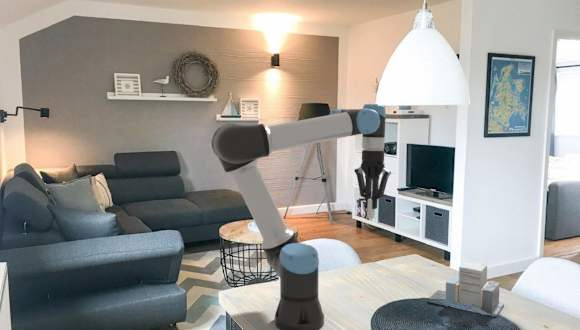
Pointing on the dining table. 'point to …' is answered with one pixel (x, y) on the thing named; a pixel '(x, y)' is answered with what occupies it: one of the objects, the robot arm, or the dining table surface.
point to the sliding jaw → (452, 289)
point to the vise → (482, 298)
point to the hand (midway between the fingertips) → (370, 217)
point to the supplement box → (471, 283)
